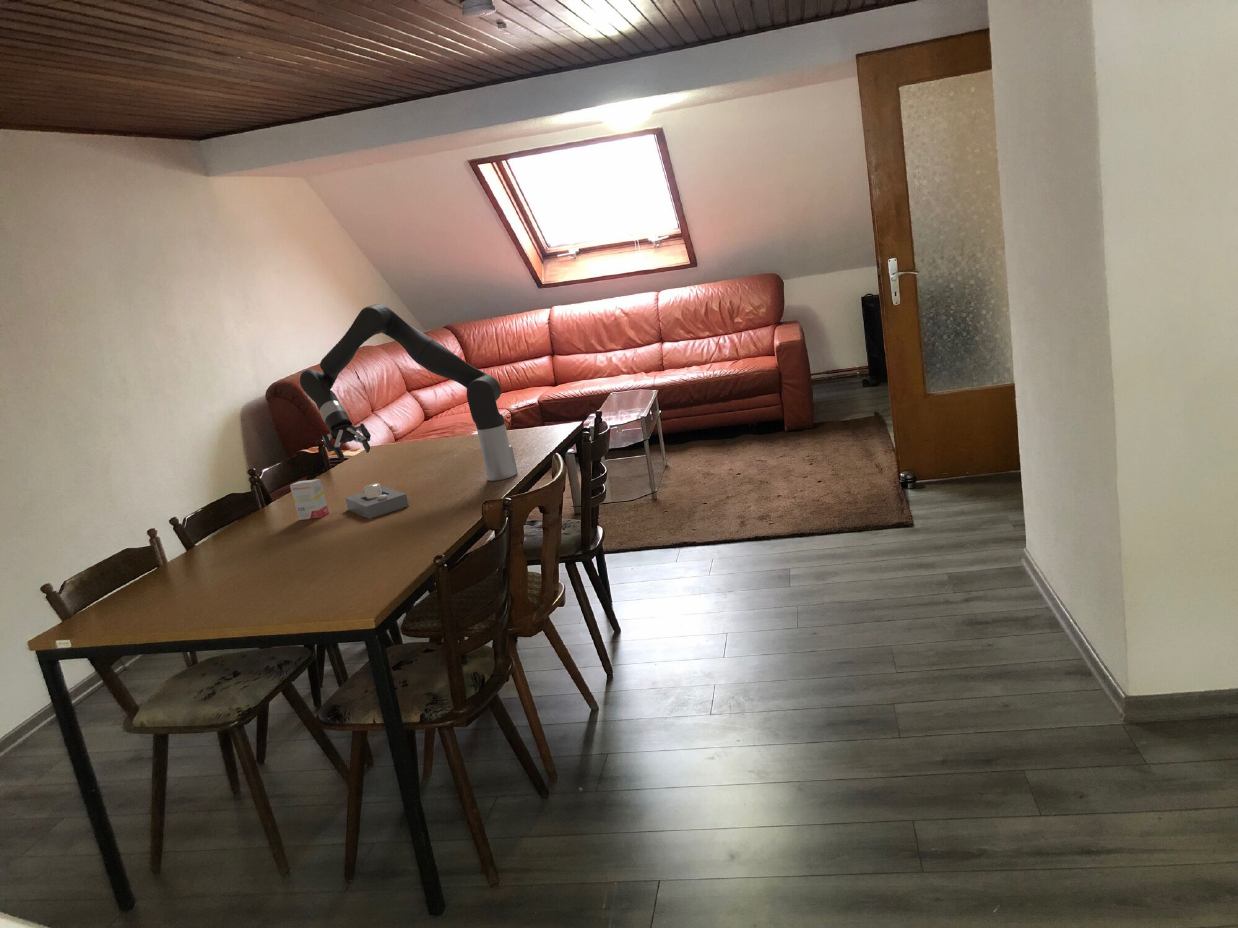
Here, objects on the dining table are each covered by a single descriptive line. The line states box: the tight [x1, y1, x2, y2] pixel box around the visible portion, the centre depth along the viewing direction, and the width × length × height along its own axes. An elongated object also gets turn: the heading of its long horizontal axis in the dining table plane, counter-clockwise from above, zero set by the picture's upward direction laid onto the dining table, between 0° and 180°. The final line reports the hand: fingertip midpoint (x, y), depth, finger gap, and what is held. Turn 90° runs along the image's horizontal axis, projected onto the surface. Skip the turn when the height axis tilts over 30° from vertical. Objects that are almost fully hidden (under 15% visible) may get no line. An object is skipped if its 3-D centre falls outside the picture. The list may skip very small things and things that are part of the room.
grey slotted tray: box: [344, 485, 410, 520], centre depth 300 cm, size 13×20×5 cm, turn 35°
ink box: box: [289, 478, 330, 521], centre depth 303 cm, size 9×5×12 cm, turn 74°
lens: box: [363, 482, 382, 501], centre depth 300 cm, size 5×5×8 cm
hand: (355, 454), depth 304 cm, fingers open, 8 cm apart
